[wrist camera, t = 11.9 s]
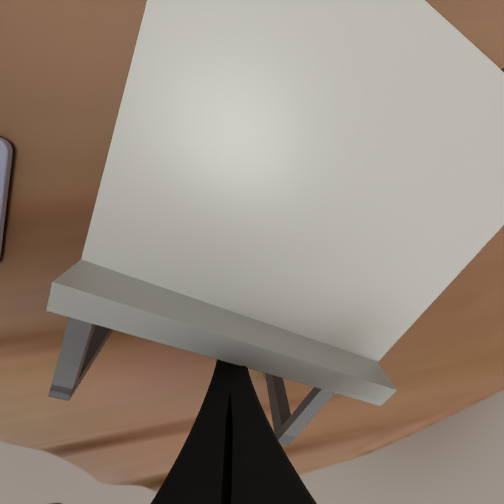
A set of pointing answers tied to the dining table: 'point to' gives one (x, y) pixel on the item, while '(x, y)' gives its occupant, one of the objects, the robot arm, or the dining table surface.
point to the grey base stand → (94, 336)
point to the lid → (292, 184)
